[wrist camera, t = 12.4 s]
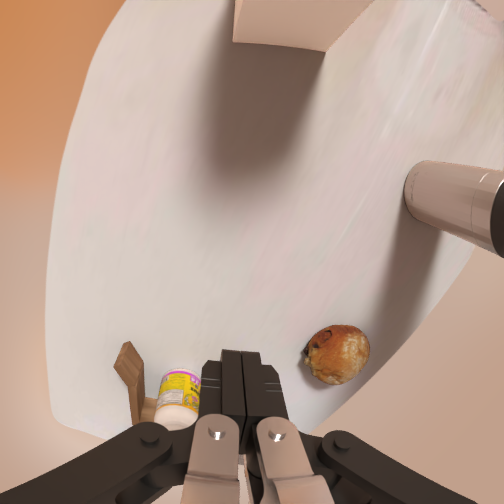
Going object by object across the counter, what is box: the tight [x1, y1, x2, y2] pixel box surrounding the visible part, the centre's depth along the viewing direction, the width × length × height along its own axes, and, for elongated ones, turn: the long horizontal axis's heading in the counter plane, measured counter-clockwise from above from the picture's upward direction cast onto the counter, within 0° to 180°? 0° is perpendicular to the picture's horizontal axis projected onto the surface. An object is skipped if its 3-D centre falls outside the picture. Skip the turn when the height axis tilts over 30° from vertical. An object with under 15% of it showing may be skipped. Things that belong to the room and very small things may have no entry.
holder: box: [114, 341, 158, 425], centre depth 42 cm, size 18×13×6 cm
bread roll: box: [304, 325, 370, 385], centre depth 44 cm, size 10×10×8 cm
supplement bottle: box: [154, 368, 201, 431], centre depth 39 cm, size 7×7×13 cm
